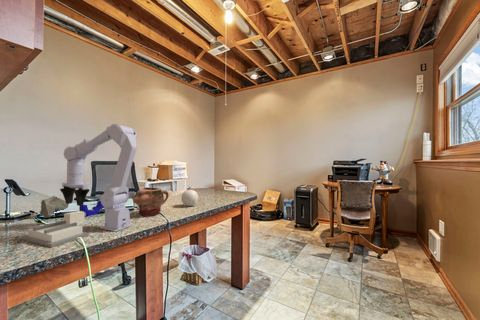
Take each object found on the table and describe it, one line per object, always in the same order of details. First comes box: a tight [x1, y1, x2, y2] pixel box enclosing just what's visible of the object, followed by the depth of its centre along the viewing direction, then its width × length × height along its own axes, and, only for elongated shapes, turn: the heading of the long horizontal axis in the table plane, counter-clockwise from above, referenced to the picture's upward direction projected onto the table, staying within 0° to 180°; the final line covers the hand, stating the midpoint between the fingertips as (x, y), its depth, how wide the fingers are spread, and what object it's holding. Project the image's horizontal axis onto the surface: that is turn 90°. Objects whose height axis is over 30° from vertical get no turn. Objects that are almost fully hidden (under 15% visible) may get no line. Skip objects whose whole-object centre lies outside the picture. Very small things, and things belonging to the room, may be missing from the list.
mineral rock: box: [39, 195, 69, 219], centre depth 109 cm, size 13×11×10 cm
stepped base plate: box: [20, 219, 90, 248], centre depth 80 cm, size 18×12×4 cm, turn 69°
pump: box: [63, 210, 86, 225], centre depth 96 cm, size 4×8×5 cm, turn 159°
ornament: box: [181, 186, 199, 207], centre depth 136 cm, size 10×10×12 cm
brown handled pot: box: [133, 187, 169, 217], centre depth 115 cm, size 20×12×14 cm, turn 150°
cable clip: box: [78, 200, 105, 218], centre depth 112 cm, size 12×4×6 cm, turn 168°
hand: (74, 204), depth 96 cm, fingers open, 7 cm apart
